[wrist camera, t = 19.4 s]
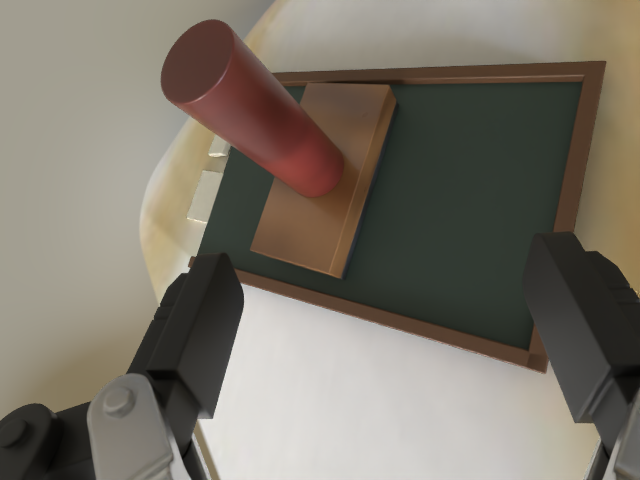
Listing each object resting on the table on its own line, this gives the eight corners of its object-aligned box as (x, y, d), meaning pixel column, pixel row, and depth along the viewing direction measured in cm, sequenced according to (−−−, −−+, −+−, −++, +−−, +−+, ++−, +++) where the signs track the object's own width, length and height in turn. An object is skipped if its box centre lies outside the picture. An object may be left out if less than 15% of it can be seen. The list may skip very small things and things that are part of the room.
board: (261, 84, 31) (250, 73, 29) (601, 78, 20) (607, 59, 19) (202, 270, 29) (187, 266, 27) (543, 372, 18) (545, 374, 17)
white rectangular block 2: (230, 111, 32) (224, 107, 31) (245, 106, 30) (239, 103, 29) (213, 157, 31) (207, 154, 31) (227, 156, 29) (221, 153, 29)
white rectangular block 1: (207, 171, 31) (202, 169, 31) (230, 175, 30) (226, 173, 30) (190, 219, 31) (185, 217, 30) (213, 225, 30) (208, 223, 29)
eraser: (322, 101, 26) (194, -61, 16) (399, 105, 24) (306, -86, 13) (269, 257, 25) (94, 192, 15) (344, 280, 22) (195, 220, 12)
